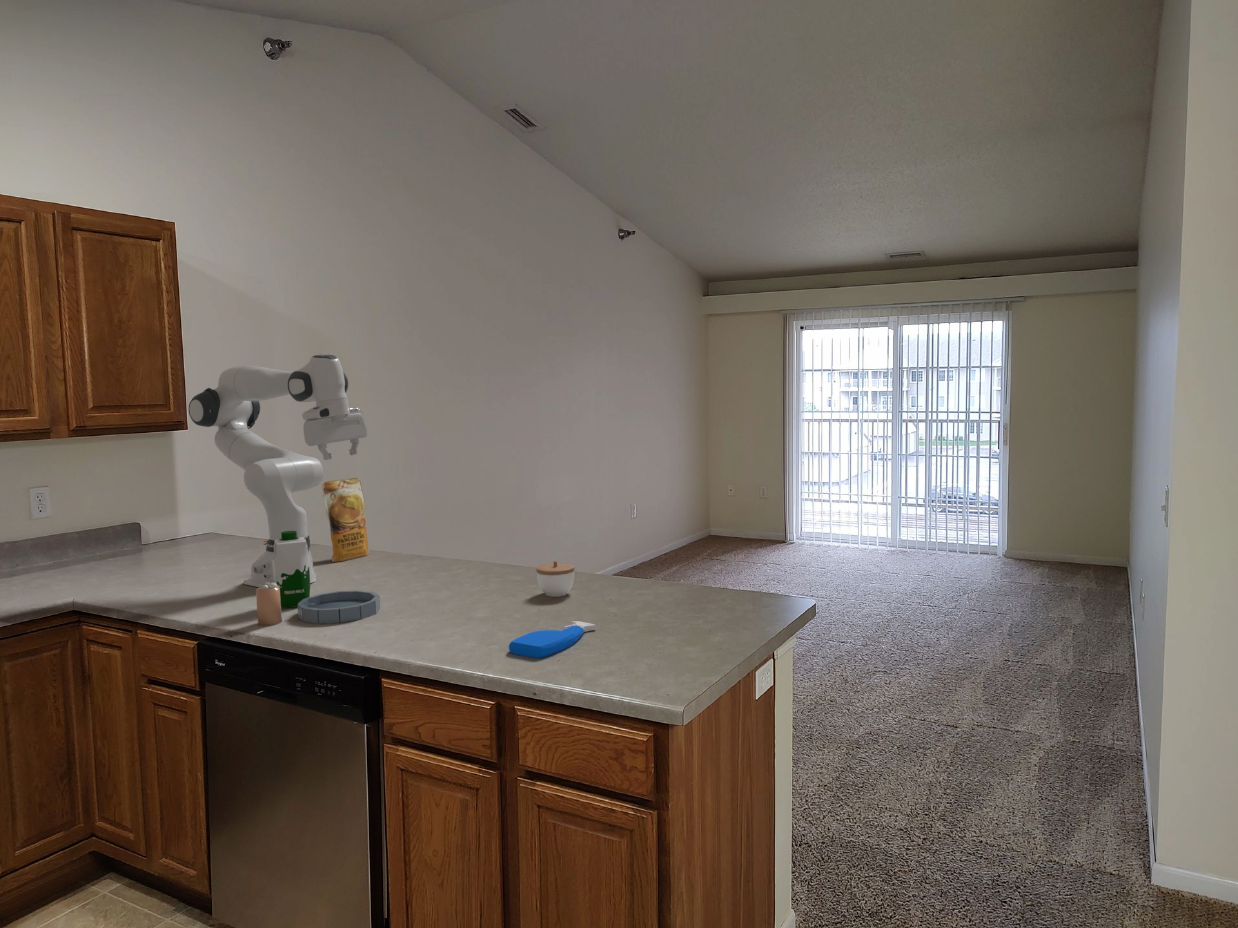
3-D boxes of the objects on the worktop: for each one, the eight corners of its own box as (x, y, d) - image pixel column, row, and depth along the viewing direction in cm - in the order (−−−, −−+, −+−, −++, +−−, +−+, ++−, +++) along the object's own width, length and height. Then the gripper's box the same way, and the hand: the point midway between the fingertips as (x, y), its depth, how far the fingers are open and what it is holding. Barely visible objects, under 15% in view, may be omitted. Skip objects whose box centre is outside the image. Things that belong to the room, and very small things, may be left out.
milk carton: (308, 598, 238) (304, 529, 236) (313, 605, 230) (308, 533, 228) (275, 603, 234) (271, 532, 232) (279, 610, 226) (274, 537, 224)
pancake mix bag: (320, 562, 290) (315, 482, 287) (363, 552, 306) (359, 476, 304) (333, 563, 286) (328, 482, 284) (376, 553, 303) (372, 476, 300)
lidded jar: (551, 587, 243) (550, 556, 242) (582, 591, 238) (581, 559, 237) (529, 596, 234) (528, 563, 233) (561, 600, 229) (560, 566, 228)
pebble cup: (253, 624, 213) (250, 584, 212) (271, 618, 218) (268, 579, 217) (268, 626, 210) (266, 586, 209) (286, 620, 215) (284, 581, 214)
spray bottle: (543, 648, 179) (605, 621, 199) (503, 641, 184) (568, 615, 205) (543, 661, 179) (606, 633, 200) (503, 654, 185) (568, 627, 205)
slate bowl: (282, 618, 218) (281, 605, 217) (339, 600, 235) (339, 588, 235) (339, 626, 209) (339, 612, 208) (394, 606, 226) (394, 594, 226)
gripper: (354, 407, 253) (361, 452, 255) (297, 414, 236) (305, 463, 237) (368, 405, 250) (375, 451, 251) (311, 412, 233) (319, 461, 234)
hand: (340, 457), depth 244 cm, fingers open, 8 cm apart
